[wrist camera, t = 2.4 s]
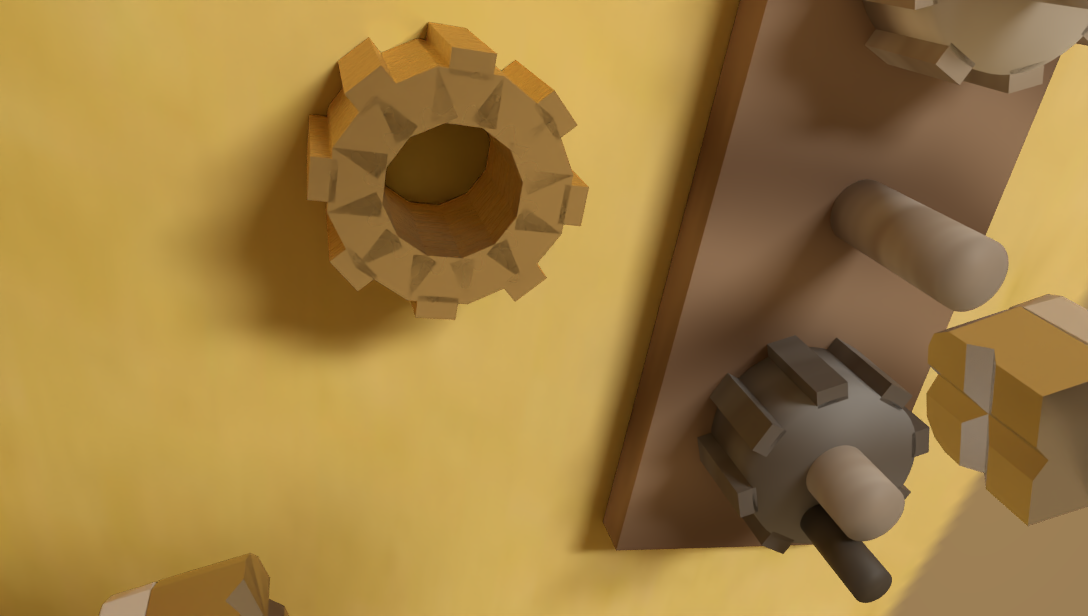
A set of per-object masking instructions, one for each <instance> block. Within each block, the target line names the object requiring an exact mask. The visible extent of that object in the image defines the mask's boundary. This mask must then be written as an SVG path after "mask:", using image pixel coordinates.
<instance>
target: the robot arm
mask: <svg viewBox="0 0 1088 616" xmlns="http://www.w3.org/2000/svg"><path fill="white" fill-rule="evenodd" d="M928 364H929V365H930V366H931V367H932V368H933V369H934V370H935V371H936V372H937V373H938V376H937V378H936V379H935V381H934V382H933V384H932V386H931V387H930V389H929V390H928V392H927V418H928V420H929V423H930V426H931V429H932V431H933V434H934V437H935V438H936V440H937V441H938V443H939V444H940V445H941V447H942V448H943V450H944V451H945V452H946V453H947V454H948V455H949V456H950V457H951V458H952V459H953V460H954V461H955V462H956V463H958V464H959V465H960V466H963V467H967V468H970V469H973V470H976V471H979V472H983V473H984V475H985V485H986V489H987V490H988V491H989V492H990V493H991V494H992V495H993V496H994V497H995V498H997V499H998V500H999V501H1000V502H1001V503H1003V505H1005V506H1006V507H1007V508H1008V509H1009V510H1010V511H1011V512H1012V513H1014V514H1015V515H1016V516H1017V517H1018V518H1019V519H1020V520H1021V521H1023V522H1024V523H1025V524H1026V525H1027V526H1030V525H1033V524H1036V523H1039V522H1042V521H1045V520H1048V519H1051V518H1054V517H1057V516H1060V515H1063V514H1066V513H1069V512H1073V511H1076V510H1078V509H1082V508H1085V507H1088V310H1087V309H1085V308H1083V307H1082V306H1080V305H1078V304H1076V303H1074V302H1072V301H1070V300H1069V299H1067V298H1065V297H1063V296H1057V295H1050V294H1047V295H1044V296H1041V297H1038V298H1035V299H1032V300H1030V301H1027V302H1024V303H1021V304H1018V305H1015V306H1012V307H1010V308H1009V309H1008V310H1004V311H1001V312H998V313H995V314H992V315H989V316H986V317H983V318H980V319H977V320H974V321H970V322H967V323H964V324H961V325H958V326H955V327H952V328H949V329H946V330H943V331H940V332H937V333H934V335H933V337H932V339H931V341H930V343H929V345H928ZM269 585H270V577H269V575H268V573H267V572H266V570H265V568H264V566H263V564H262V563H261V561H260V559H259V557H258V556H256V555H254V554H251V553H249V554H245V555H242V556H239V557H235V558H232V559H228V560H225V561H222V562H218V563H215V564H212V565H208V566H205V567H202V568H198V569H195V570H192V571H188V572H185V573H182V574H178V575H175V576H171V577H168V578H165V579H161V580H159V581H158V582H154V583H150V584H147V585H144V586H140V587H137V588H134V589H130V590H127V591H124V592H121V593H117V594H114V595H112V596H111V597H110V598H109V599H108V600H107V601H106V602H105V603H104V604H103V605H102V607H101V610H100V613H99V616H289V615H288V613H287V611H286V609H285V606H283V605H281V604H279V603H277V602H274V601H272V600H270V599H269Z"/></svg>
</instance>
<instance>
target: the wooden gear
mask: <svg viewBox="0 0 1088 616" xmlns="http://www.w3.org/2000/svg"><path fill="white" fill-rule="evenodd" d="M496 57H497V53H495V52H494V51H493V50H492V49H491V48H489V47H488V46H487V45H486V44H485V43H483V42H482V41H481V40H480V39H479V38H477V37H476V36H475V35H474V34H473V33H471V32H470V31H469V30H468V29H467V28H462V27H456V26H450V25H443V24H437V23H431V22H428V27H427V35H426V40H423V39H417V38H416V39H414V40H411V41H409V42H406V43H404V44H401V45H399V46H397V47H394V48H392V49H389V50H387V51H384V52H382V53H381V52H380V51H379V50H378V48H377V47H376V46H375V45H374V43H373V42H372V41H371V39H370V38H369V37H368V38H367V39H366V40H364V41H363V42H362V43H360V44H359V45H358V46H357V47H355V48H354V49H353V50H351V51H350V52H349V53H348V54H346V55H345V56H344V57H343V58H341V59H340V60H339V61H338V65H339V70H340V75H341V80H342V85H343V87H342V89H341V90H340V91H339V93H338V94H337V96H336V97H335V98H334V100H333V101H332V102H331V104H330V105H329V106H328V114H327V116H319V115H311V114H309V128H308V141H307V200H313V201H323V202H326V204H327V205H326V217H327V232H328V246H329V261H330V263H331V264H332V265H333V266H334V267H335V268H336V269H337V270H338V271H339V272H340V273H341V274H342V275H343V276H344V278H345V279H346V280H347V281H348V282H349V283H350V284H351V285H352V286H353V287H354V288H355V289H356V290H357V291H359V290H360V289H362V288H363V287H364V286H366V285H367V284H368V283H370V282H371V281H372V280H376V281H377V282H379V283H381V284H382V285H384V286H385V287H387V288H388V289H390V290H392V291H393V292H395V293H396V294H398V295H400V296H401V297H403V298H404V299H406V300H411V303H412V307H413V311H414V314H415V317H416V318H433V319H451V320H455V318H456V312H457V306H458V304H469V303H471V302H474V301H476V300H478V299H481V298H483V297H485V296H488V295H490V294H492V293H495V292H497V291H499V290H501V289H505V290H506V291H507V293H508V294H509V295H510V296H511V297H512V299H513V300H514V301H517V300H518V299H519V298H521V297H522V296H523V295H525V294H526V293H527V292H529V291H530V290H531V289H533V288H534V287H535V286H537V285H538V284H539V283H541V282H542V281H543V280H545V279H546V278H547V277H546V276H545V274H544V273H543V271H542V270H541V268H540V266H539V265H538V262H539V260H540V259H541V258H542V257H543V256H544V254H545V253H546V252H547V251H548V250H549V248H550V247H551V246H552V245H553V244H554V242H555V241H556V240H557V239H558V238H559V236H560V235H561V234H562V229H563V224H564V225H574V226H581V222H582V218H583V213H584V208H585V203H586V199H587V194H588V189H589V187H588V186H587V185H586V184H585V183H584V182H583V181H582V180H581V179H580V178H579V176H578V175H577V174H576V173H575V172H574V171H573V170H572V169H571V167H570V164H569V161H568V158H567V155H566V152H565V149H564V146H563V143H562V140H561V137H563V136H564V135H565V134H566V133H568V132H569V131H570V130H572V129H573V128H574V127H576V126H577V124H576V122H575V121H574V119H573V118H572V116H571V115H570V113H569V112H568V110H567V109H566V107H565V106H564V104H563V103H562V101H561V100H560V98H559V97H558V95H557V94H556V92H555V91H554V90H553V89H552V88H551V87H549V86H548V85H547V84H546V83H544V82H543V81H542V80H541V79H539V78H538V77H537V76H535V75H534V74H533V73H532V72H530V71H529V70H528V69H527V68H525V67H524V66H523V65H521V64H520V63H519V62H518V61H516V60H515V61H514V62H512V63H511V64H510V65H509V66H507V67H506V68H505V69H503V70H502V71H501V70H499V69H498V68H497V67H496V66H495V63H496ZM444 123H449V124H457V125H465V126H472V127H480V128H483V129H484V130H486V131H487V132H488V135H489V138H490V144H489V151H488V157H487V163H486V169H485V171H484V172H483V173H482V174H481V176H480V177H479V178H478V179H477V181H476V182H475V183H474V185H473V186H472V187H471V188H470V190H469V191H468V192H467V193H466V194H463V195H461V196H459V197H456V198H454V199H451V200H449V201H447V202H444V203H442V204H440V205H435V204H425V203H415V202H408V201H407V200H405V199H404V198H402V197H401V196H399V195H398V194H397V193H395V192H394V191H392V190H391V189H389V188H388V187H386V186H385V185H384V184H385V175H386V168H387V166H388V165H389V164H390V162H391V161H392V160H393V158H394V157H395V156H396V155H397V153H398V152H399V151H400V149H401V148H402V147H403V145H404V144H405V143H406V141H407V140H408V139H409V138H410V137H412V136H415V135H417V134H420V133H422V132H424V131H427V130H429V129H432V128H434V127H436V126H439V125H441V124H444Z"/></svg>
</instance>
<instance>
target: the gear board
mask: <svg viewBox="0 0 1088 616" xmlns="http://www.w3.org/2000/svg"><path fill="white" fill-rule="evenodd" d="M1076 43H1077V44H1082V45H1088V0H740V3H739V7H738V11H737V14H736V18H735V22H734V26H733V30H732V33H731V37H730V41H729V45H728V49H727V52H726V56H725V60H724V64H723V68H722V71H721V75H720V79H719V83H718V87H717V90H716V94H715V98H714V102H713V106H712V109H711V113H710V117H709V121H708V125H707V128H706V132H705V136H704V140H703V144H702V147H701V151H700V155H699V159H698V163H697V166H696V170H695V174H694V178H693V182H692V186H691V189H690V193H689V197H688V201H687V205H686V208H685V212H684V216H683V220H682V224H681V227H680V231H679V235H678V239H677V243H676V246H675V250H674V254H673V258H672V262H671V265H670V269H669V273H668V277H667V281H666V284H665V288H664V292H663V296H662V300H661V303H660V307H659V311H658V315H657V319H656V322H655V326H654V330H653V334H652V338H651V341H650V345H649V349H648V353H647V357H646V360H645V364H644V368H643V372H642V376H641V380H640V383H639V387H638V391H637V395H636V399H635V402H634V406H633V410H632V414H631V418H630V421H629V425H628V429H627V433H626V437H625V440H624V444H623V448H622V452H621V456H620V459H619V463H618V467H617V471H616V475H615V478H614V482H613V486H612V490H611V494H610V497H609V501H608V505H607V509H606V513H605V516H604V520H603V523H604V525H605V528H606V530H607V532H608V534H609V536H610V538H611V540H612V542H613V544H614V547H615V549H616V550H644V549H677V548H711V547H744V546H765V547H767V548H770V549H772V550H775V551H777V552H780V553H782V554H784V552H785V551H786V550H787V549H788V548H789V546H790V545H811V544H813V545H814V546H815V547H816V548H817V550H818V551H819V552H820V553H821V555H822V556H823V557H824V559H825V560H826V561H827V562H828V564H829V565H830V566H831V568H832V569H833V570H834V571H835V573H836V574H837V575H838V576H839V578H840V579H841V580H842V582H843V583H844V584H845V585H846V587H847V588H848V589H849V591H850V592H851V593H852V594H853V596H854V597H855V598H856V599H857V600H858V601H859V602H863V603H868V602H872V601H875V600H877V599H879V598H880V597H882V596H883V595H884V594H885V593H886V592H887V591H888V589H889V588H890V586H891V582H892V577H891V575H890V574H889V572H888V571H887V570H886V569H885V568H884V567H883V565H882V564H881V563H880V562H879V561H878V560H877V558H876V557H875V556H874V555H873V554H872V553H871V551H870V550H869V549H868V548H867V547H866V546H865V545H864V543H863V542H862V541H868V540H872V539H875V538H877V537H879V536H881V535H883V534H885V533H886V532H887V531H889V530H890V529H891V528H892V527H893V526H894V525H895V524H896V523H897V521H898V520H899V518H900V517H901V515H902V513H903V510H904V504H905V501H904V500H905V499H906V497H907V496H908V495H909V494H910V493H911V492H910V491H909V490H908V489H907V488H906V487H905V486H904V485H903V484H904V482H905V481H906V479H907V477H908V475H909V473H910V470H911V467H912V464H913V461H914V457H916V456H919V455H922V454H924V453H927V452H928V451H929V427H928V426H927V425H926V424H925V423H924V422H923V421H921V420H920V419H919V418H918V417H917V416H915V415H914V414H913V413H912V410H913V407H914V405H915V402H916V400H917V398H918V395H919V393H920V390H921V388H922V386H923V383H924V381H925V378H926V376H927V374H928V371H929V369H930V365H929V364H928V345H929V343H930V341H931V339H932V337H933V335H934V333H937V332H940V331H943V330H946V328H947V326H948V323H949V321H950V319H951V316H952V314H953V311H958V312H964V311H969V310H973V309H975V308H977V307H979V306H981V305H983V304H984V303H986V302H987V301H988V300H989V299H990V298H992V297H993V296H994V294H995V293H996V292H997V291H998V290H999V288H1000V287H1001V285H1002V283H1003V281H1004V279H1005V277H1006V274H1007V270H1008V255H1007V252H1006V250H1005V248H1004V247H1003V246H1002V245H1001V244H1000V243H999V242H997V241H995V240H993V239H991V238H989V237H987V236H985V235H986V232H987V230H988V228H989V225H990V223H991V221H992V218H993V216H994V213H995V211H996V209H997V206H998V204H999V201H1000V199H1001V197H1002V194H1003V192H1004V189H1005V187H1006V185H1007V182H1008V180H1009V177H1010V175H1011V173H1012V170H1013V168H1014V165H1015V163H1016V161H1017V158H1018V156H1019V154H1020V151H1021V149H1022V146H1023V144H1024V142H1025V139H1026V137H1027V134H1028V132H1029V130H1030V127H1031V125H1032V122H1033V120H1034V118H1035V115H1036V113H1037V110H1038V108H1039V106H1040V103H1041V101H1042V98H1043V96H1044V94H1045V91H1046V89H1047V87H1048V84H1049V82H1050V79H1051V77H1052V75H1053V72H1054V70H1055V67H1056V65H1057V63H1058V60H1059V58H1060V55H1061V54H1063V53H1064V52H1066V51H1067V50H1068V49H1069V48H1071V47H1072V46H1073V45H1074V44H1076Z"/></svg>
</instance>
